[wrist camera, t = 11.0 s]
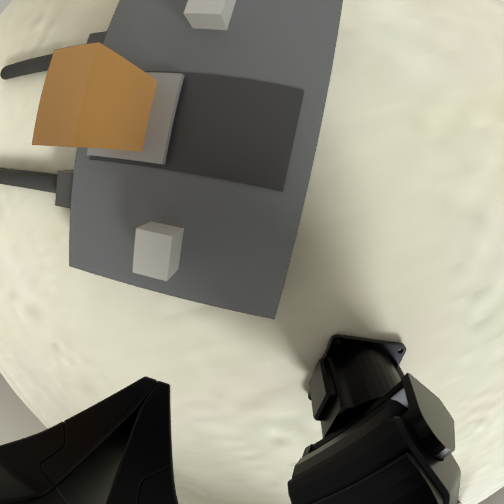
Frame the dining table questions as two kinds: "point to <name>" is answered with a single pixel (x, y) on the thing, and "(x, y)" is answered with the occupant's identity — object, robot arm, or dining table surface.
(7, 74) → the twin dark prongs
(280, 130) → the panel
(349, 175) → the dining table surface
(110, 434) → the robot arm
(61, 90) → the breaker handle
